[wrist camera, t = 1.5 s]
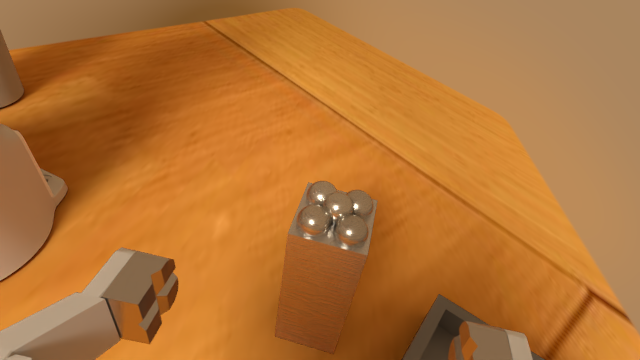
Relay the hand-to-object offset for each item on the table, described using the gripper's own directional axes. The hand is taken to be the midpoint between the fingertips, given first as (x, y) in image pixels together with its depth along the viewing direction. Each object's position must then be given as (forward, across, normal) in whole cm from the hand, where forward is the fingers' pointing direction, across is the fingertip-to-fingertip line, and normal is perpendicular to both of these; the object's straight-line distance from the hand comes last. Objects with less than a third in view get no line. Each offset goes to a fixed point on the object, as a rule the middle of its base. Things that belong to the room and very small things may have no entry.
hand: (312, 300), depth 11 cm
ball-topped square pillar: (+13, +1, +21) cm, 25 cm away
